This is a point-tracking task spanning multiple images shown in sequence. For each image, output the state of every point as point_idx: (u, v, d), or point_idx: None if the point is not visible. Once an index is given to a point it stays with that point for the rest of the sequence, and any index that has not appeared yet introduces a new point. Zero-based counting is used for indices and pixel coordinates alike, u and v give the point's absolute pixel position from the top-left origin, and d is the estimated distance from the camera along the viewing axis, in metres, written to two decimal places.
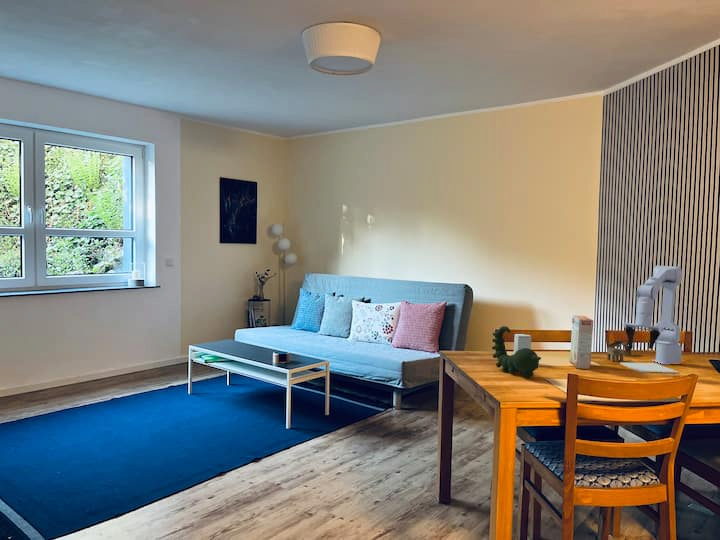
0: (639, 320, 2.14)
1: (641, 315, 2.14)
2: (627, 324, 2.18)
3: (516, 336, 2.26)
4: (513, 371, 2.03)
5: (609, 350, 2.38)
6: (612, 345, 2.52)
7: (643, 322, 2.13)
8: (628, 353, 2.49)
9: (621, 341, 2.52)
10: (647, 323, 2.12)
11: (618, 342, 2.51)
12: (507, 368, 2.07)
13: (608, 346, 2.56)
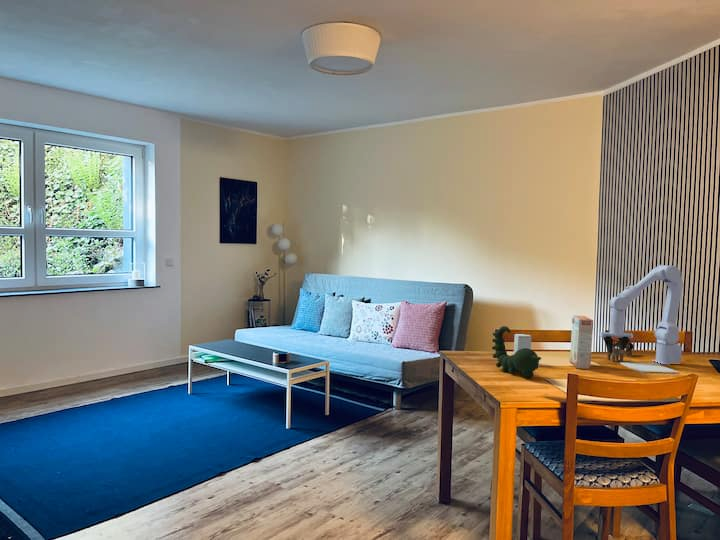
0: None
1: None
2: None
3: (516, 336, 2.26)
4: (513, 371, 2.03)
5: None
6: (613, 345, 2.51)
7: None
8: (629, 353, 2.48)
9: None
10: None
11: None
12: (507, 368, 2.07)
13: None
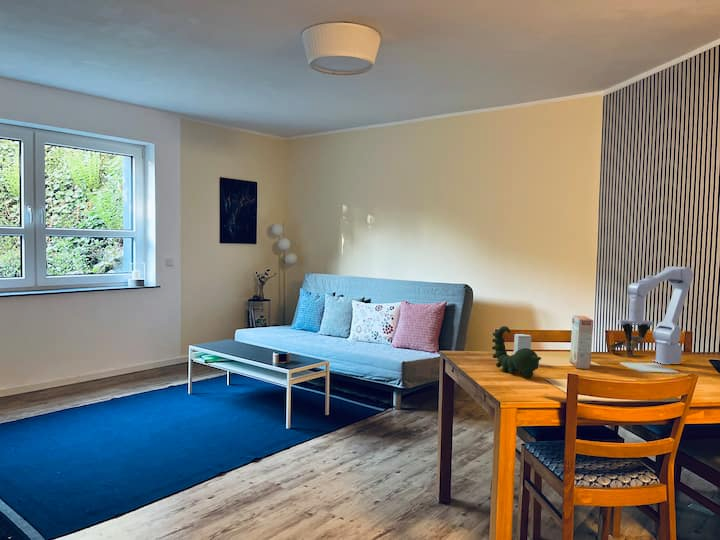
0: None
1: None
2: None
3: (516, 336, 2.26)
4: (513, 371, 2.03)
5: None
6: (614, 346, 2.50)
7: None
8: (630, 354, 2.48)
9: (623, 342, 2.50)
10: None
11: (620, 343, 2.49)
12: (507, 368, 2.07)
13: (610, 347, 2.54)
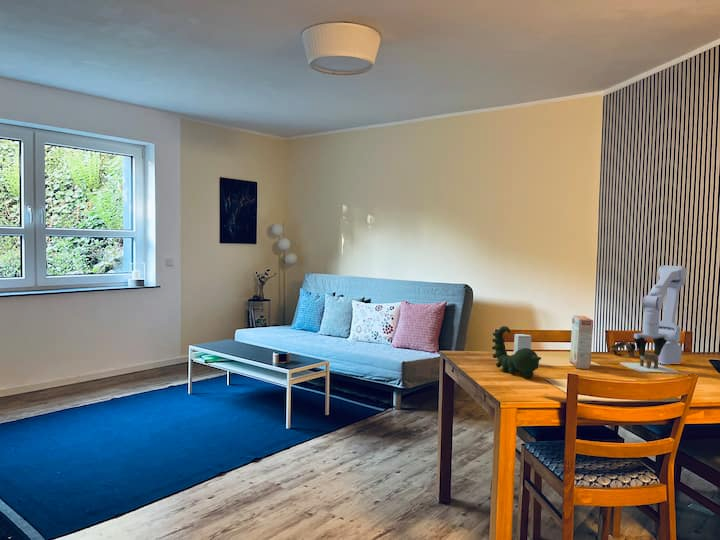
0: None
1: None
2: None
3: (516, 336, 2.26)
4: (513, 371, 2.03)
5: (643, 356, 2.24)
6: (615, 346, 2.49)
7: None
8: (632, 354, 2.46)
9: (624, 342, 2.49)
10: (643, 331, 2.25)
11: (622, 343, 2.48)
12: (507, 368, 2.07)
13: (611, 347, 2.53)
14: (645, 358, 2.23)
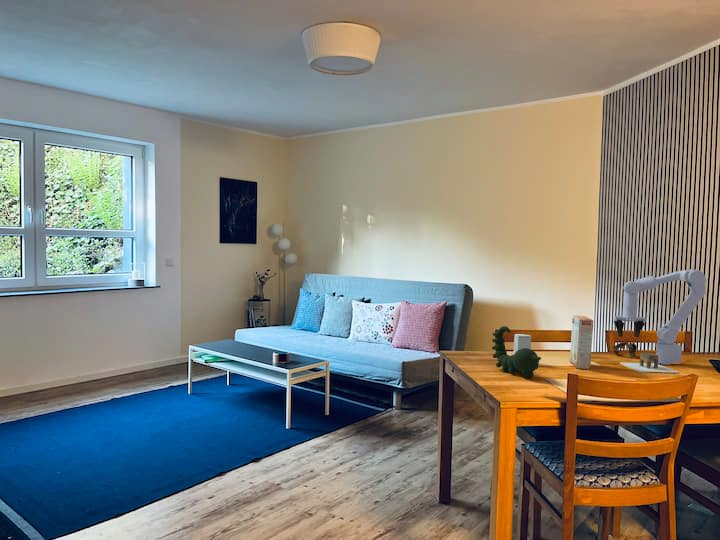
0: None
1: None
2: None
3: (516, 336, 2.26)
4: (513, 371, 2.03)
5: (643, 356, 2.24)
6: (617, 347, 2.48)
7: None
8: (633, 355, 2.45)
9: (626, 343, 2.48)
10: None
11: (623, 344, 2.47)
12: (507, 368, 2.07)
13: None
14: (645, 358, 2.23)
